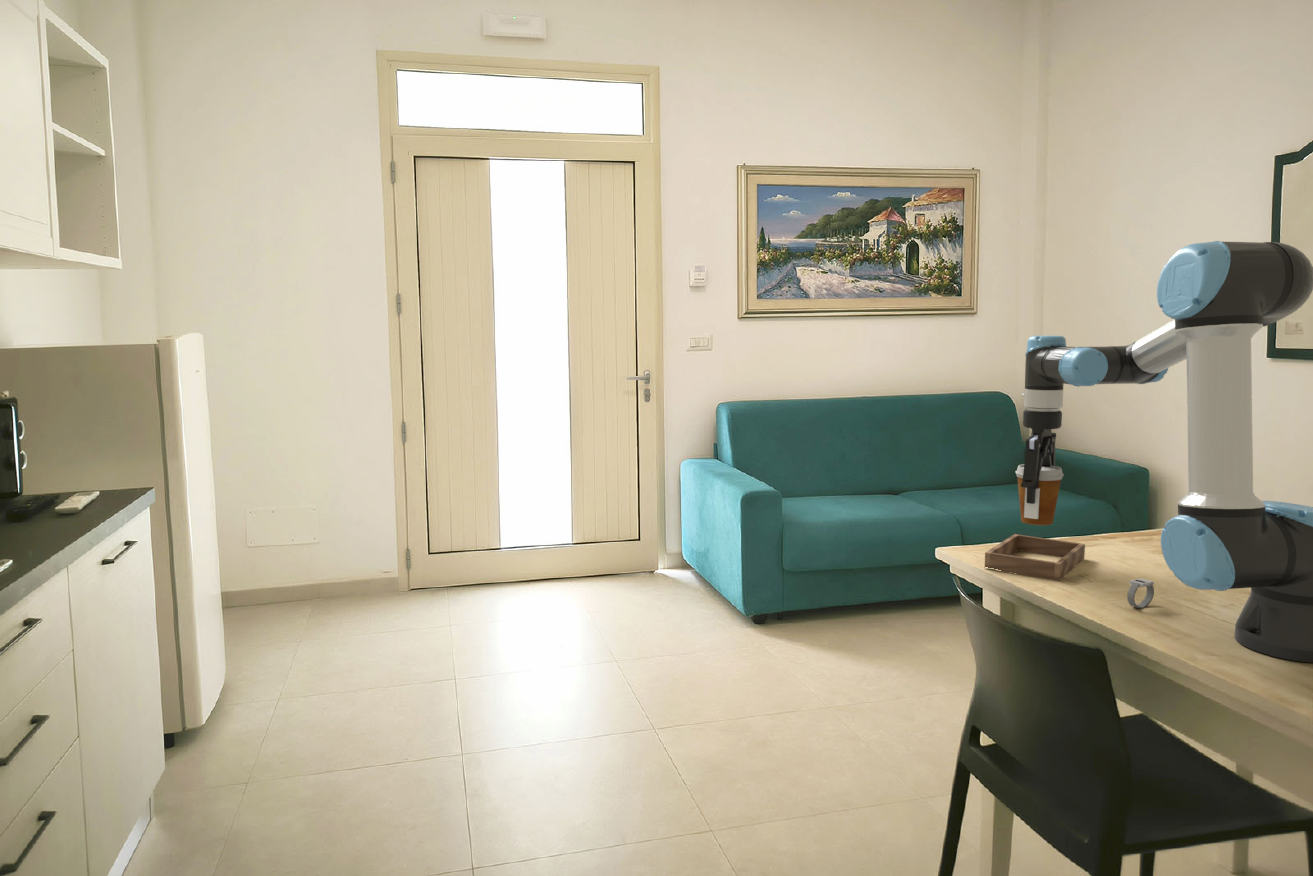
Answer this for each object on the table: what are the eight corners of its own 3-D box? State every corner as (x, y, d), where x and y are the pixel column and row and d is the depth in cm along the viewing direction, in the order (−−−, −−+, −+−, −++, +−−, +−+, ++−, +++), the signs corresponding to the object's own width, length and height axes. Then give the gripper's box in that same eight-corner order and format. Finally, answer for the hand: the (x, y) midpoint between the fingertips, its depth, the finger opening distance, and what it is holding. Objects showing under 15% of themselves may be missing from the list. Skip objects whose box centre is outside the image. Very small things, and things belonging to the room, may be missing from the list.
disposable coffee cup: (1055, 529, 183) (1058, 472, 182) (1007, 523, 189) (1010, 468, 187) (1065, 520, 191) (1068, 466, 189) (1019, 515, 197) (1022, 462, 195)
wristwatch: (1142, 602, 165) (1144, 576, 165) (1157, 606, 163) (1159, 580, 162) (1122, 607, 162) (1123, 581, 162) (1136, 612, 160) (1138, 585, 159)
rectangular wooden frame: (1059, 581, 179) (1060, 564, 178) (984, 568, 188) (985, 552, 188) (1084, 559, 194) (1085, 543, 194) (1013, 548, 204) (1014, 534, 203)
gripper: (1038, 403, 197) (1033, 503, 200) (1008, 412, 181) (1003, 521, 184) (1074, 405, 192) (1069, 507, 196) (1047, 415, 176) (1041, 526, 179)
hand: (1037, 514), depth 190 cm, fingers closed on disposable coffee cup, 8 cm apart
